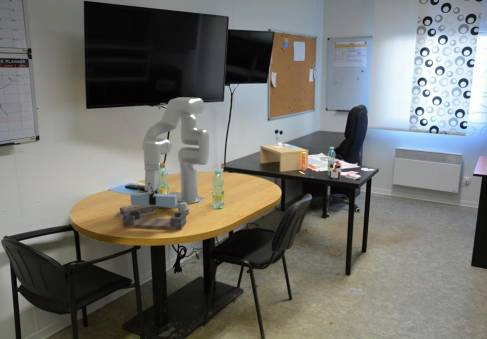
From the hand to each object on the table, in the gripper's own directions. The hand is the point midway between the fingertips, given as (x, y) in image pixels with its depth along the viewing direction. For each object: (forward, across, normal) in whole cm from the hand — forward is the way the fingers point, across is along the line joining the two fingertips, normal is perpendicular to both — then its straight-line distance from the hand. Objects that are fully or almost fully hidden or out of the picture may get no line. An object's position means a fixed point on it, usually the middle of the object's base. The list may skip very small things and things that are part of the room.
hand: (154, 202), depth 209 cm
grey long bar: (+12, -22, +2) cm, 25 cm away
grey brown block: (+12, -15, -15) cm, 25 cm away
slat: (+1, 0, 0) cm, 1 cm away
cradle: (+11, 0, 0) cm, 11 cm away
